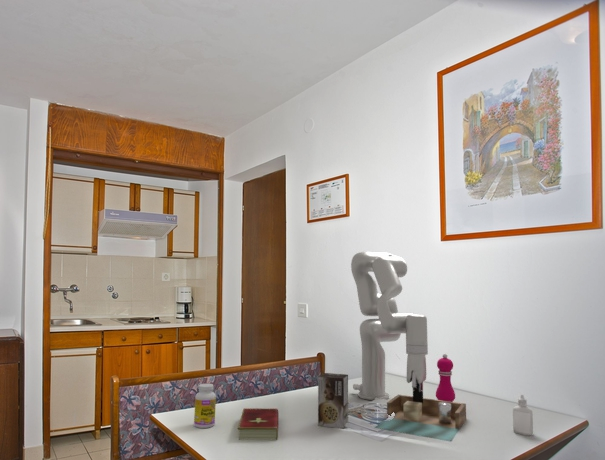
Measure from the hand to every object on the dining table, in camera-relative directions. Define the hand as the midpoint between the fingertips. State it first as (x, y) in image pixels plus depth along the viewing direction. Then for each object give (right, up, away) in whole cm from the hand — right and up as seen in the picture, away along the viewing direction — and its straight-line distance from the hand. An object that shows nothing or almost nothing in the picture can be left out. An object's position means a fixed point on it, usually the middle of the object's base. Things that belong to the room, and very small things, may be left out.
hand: (418, 402), depth 166 cm
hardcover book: (-55, -4, -15) cm, 57 cm away
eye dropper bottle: (+30, -5, -15) cm, 34 cm away
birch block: (-3, -4, -5) cm, 7 cm away
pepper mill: (+14, -7, +14) cm, 21 cm away
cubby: (-1, -4, -10) cm, 11 cm away
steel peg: (+7, -4, -8) cm, 11 cm away
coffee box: (-31, -4, -10) cm, 32 cm away
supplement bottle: (-73, -3, -13) cm, 74 cm away
